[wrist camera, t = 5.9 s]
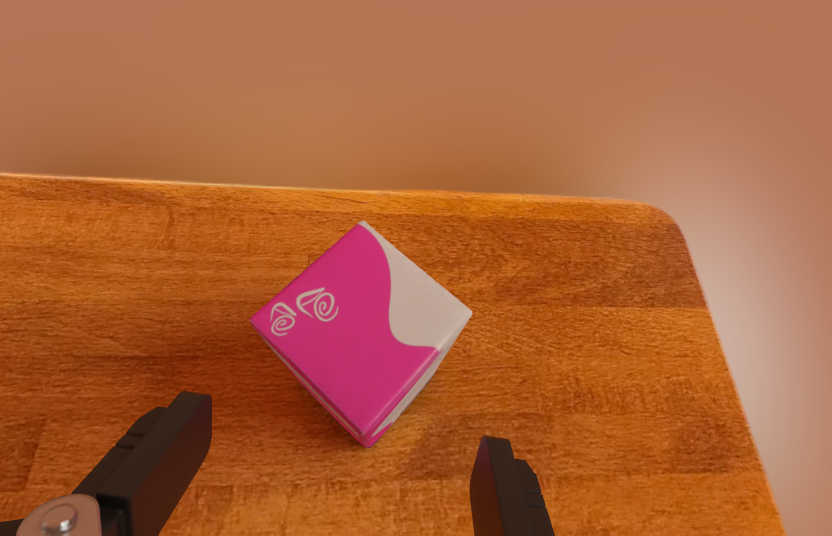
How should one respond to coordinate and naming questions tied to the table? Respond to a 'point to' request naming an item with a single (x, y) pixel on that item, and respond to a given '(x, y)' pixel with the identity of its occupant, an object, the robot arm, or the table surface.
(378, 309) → the supplement box
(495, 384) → the table surface
